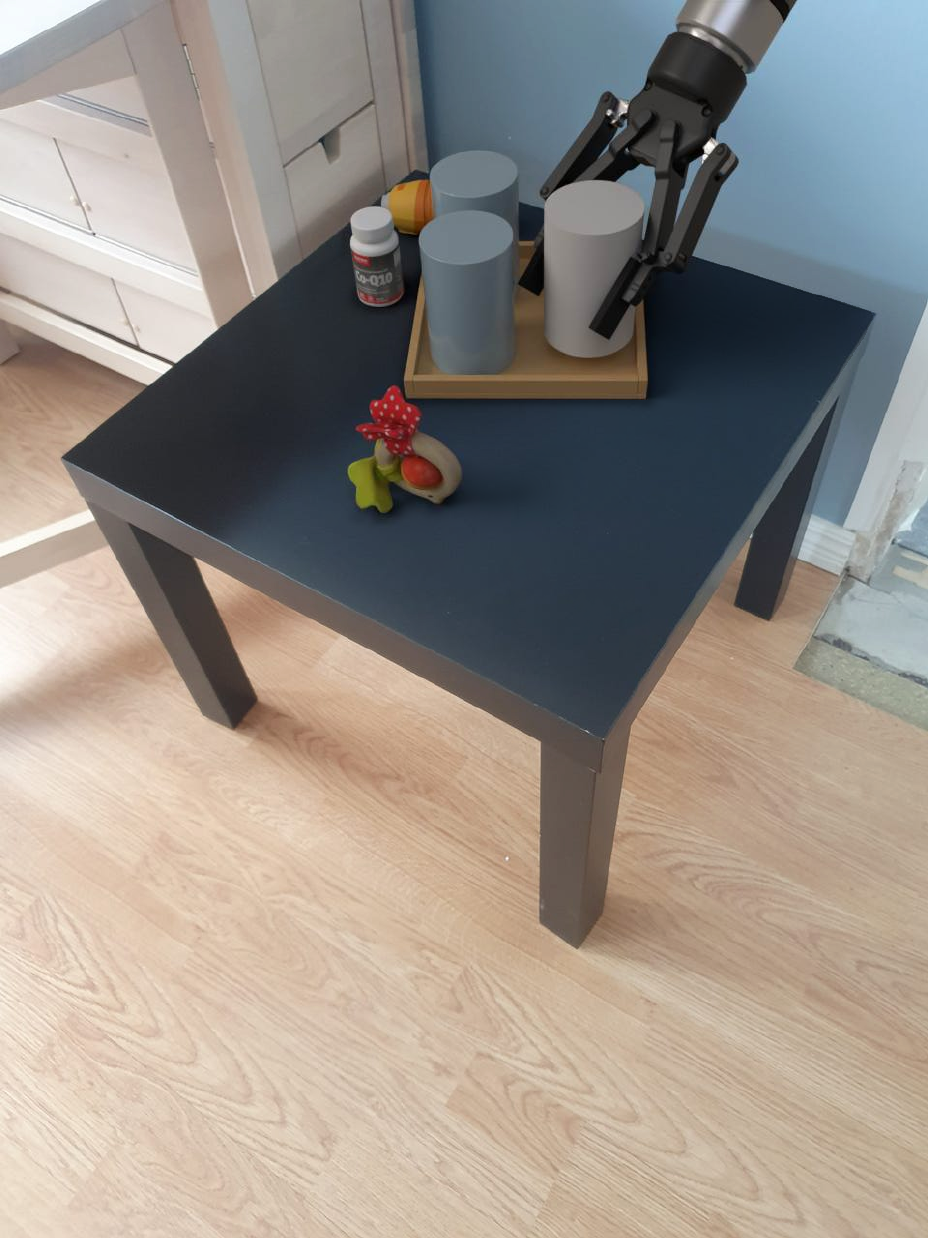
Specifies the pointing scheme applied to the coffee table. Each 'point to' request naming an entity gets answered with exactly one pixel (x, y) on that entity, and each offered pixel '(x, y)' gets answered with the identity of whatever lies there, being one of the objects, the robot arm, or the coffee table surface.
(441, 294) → the slate blue cylinder
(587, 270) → the light grey cylinder
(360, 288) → the pill bottle
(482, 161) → the grey-blue cylinder
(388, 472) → the bird rattle
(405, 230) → the toy figure
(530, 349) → the tray
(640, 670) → the coffee table surface
